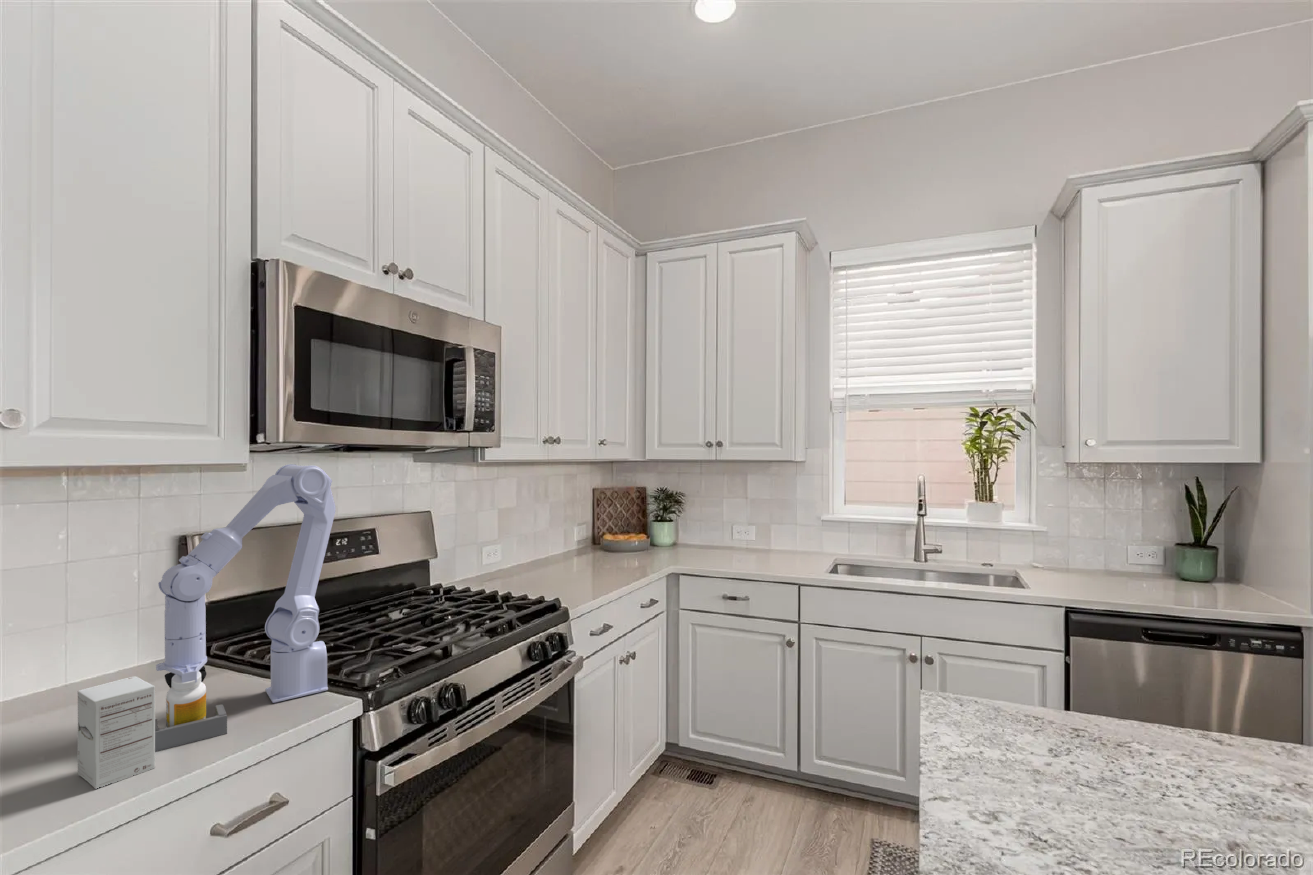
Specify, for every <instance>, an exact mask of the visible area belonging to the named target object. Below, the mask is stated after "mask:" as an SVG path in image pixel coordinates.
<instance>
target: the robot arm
mask: <svg viewBox="0 0 1313 875" xmlns="http://www.w3.org/2000/svg"><path fill="white" fill-rule="evenodd" d="M332 483H333V480H332V478H331V477H330V476H329V475H328V474H327V473H326V471H325V470H324V469H322V468H321V467H319V466H317V465H315V464H312V465H309V464H308V465H297V464H295V463H292V464H291V463H290V464H285V465H283V466H281V467H279V468H278V469H277V471H276V472H275V473H274V474H272V475H271V476H269V477H268V478H267V479H266V481H265V482H264V483H263V485H262V487H260V489H258V491H257V492H256V493H255V495H253V496H252V497H251V498H250V500H249V501H247V503H246V504H245V505H244V506H243V507H242V509H240V511H238V513H237V514H236V515H235V516H234V518H232V519H231V520H230V522H229V523H228V524H227V525H226V526H225V527H220V528H218V527H217V528H213V529H212V530H211V531H210V532H207V531H205V532H204V533H203V534H202V535H201V536H200V539H201V541H200V542H199V543H198V544H197V545H196V546H195V547H194V548H193V549H192V550H191V551H190V552H189V553H188V554H187V555H185V556H184V555H182V556H181V557H180V558H179V559H178V561H179V562H180V563H178V564H176V565H173V566H171V567H169V568H168V569H167V570H166V571H164V573H163V574H162V577H161V580H160V581H158V588H159V590H160V592H161V593H162V594H163V595H164V601H165V602H164V607H165V609H164V662H160V663H157V664H155V671H156V672H159V671H166V672H167V673H165V674H164V679H165V682H166V684H167V686H168V687H169V689H170V688H171V687H172V686H171V682H172V677H173V676H174V675H175V674H177V675H180V676H181V677H182V683H183V682H188V681H193V680H195V682H197V672H198V671H199V672H201V682H203V683H204V680H205V679H206V676H207V671H206V667H205V665H206V664H207V662H208V656H207V646H206V644H207V641H206V637H207V634H206V632H207V631H206V629H207V628H206V626H207V625H206V624H207V621H206V618H207V615H206V613H207V612H206V610H207V608H206V594H207V593H209V592H210V591H211V588H212V586H213V579H214V578H215V577H217V575H218V574H219V573H220V572H221V570H223V569H224V568H225V566H227V564H228V563H229V562H231V560H232V559H234V557H235V556H236V555H237V554H238V553H239V552H240V551H241V550H242V549H243V538H244V537H245V536H246V535H247V534H248V533H249V532H251V531H252V529H253V528H255V527H256V526H257V525H258V524H259V523H260V522H261V521H262V520H263V519H264V518H266V516H267V515H269V514H270V513H271V512H272V511H273V510H274V509H275V508H276V507H277V506H281V505H285V504H289V503H293V502H294V504H295V505H296V506H297V507H298V508H299V510H300V511H301V512H302V513H303V517H302V521H301V526H300V531H299V533H298V538H297V542H296V545H295V550H294V554H293V557H292V560H291V565H290V569H289V573H288V577H287V581H286V586H285V588H284V593H283V594H282V595H281V597H279V599H278V600H277V601H276V602H275V604H274V608H273V610H272V612H270V614H269V616H268V617H267V619H266V622H265V624H264V631H265V634H266V636H267V637H268V638H269V639H270V640H271V645H270V687H265V690H264V691H265V693H266V694H267V696H268V698H269V699H270V701H271V703H272V704H273V703H279V702H284V701H288V700H291V699H296V698H300V697H301V698H302V697H304V696H309V695H313V694H317V693H318V694H319V693H321V692H326V691H328V690H329V687H328V653H327V647H326V644H325V642H324V641H323V640H319V641H318V640H317V638H318V635H319V633H320V622H319V613H320V607H319V605H318V603H317V601H316V598H315V597H316V593H317V589H318V584H319V580H320V577H321V572H322V568H323V564H324V560H325V556H326V552H327V548H328V544H329V540H330V536H331V535H330V534H331V531H332V528H333V523H334V519H335V514H336V507H337V506H336V504H335V499H334V495H333V491H332V488H331V486H332ZM316 640H317V641H316Z"/></svg>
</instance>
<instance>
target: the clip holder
mask: <svg viewBox="0 0 1313 875" xmlns="http://www.w3.org/2000/svg"><path fill="white" fill-rule="evenodd" d="M158 722H159V721H158V719H157V718H155V752H159V751H163V750H167V749H171V748H176V747H180V746H182V745H186V744H191V743H195V742H198V741H202V740H203V741H204V740H207V739H211V738H214V737H219V736H222V735H226V734H228V715H227V711H226V709H225V707H224V705H223V703H222V704H217V705H215V715H214V716H211V717H206V718H205V719H201V720H197V721H193V722H188V723H184V724H180V725H176V726H171V727H167V728H166V727H163V728H160V727H159V723H158Z"/></svg>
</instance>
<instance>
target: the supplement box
mask: <svg viewBox="0 0 1313 875" xmlns="http://www.w3.org/2000/svg"><path fill="white" fill-rule="evenodd" d="M155 719H156V686H155V685H154V684H152V683H150V682H148V681H146V680H144V679H142V678H140V677H139V676H137V675H135V676H130V677H125V678H121V679H116V680H114V681H110V682H106V683H102V684H99V685H94V686H90V687H87V688H83V689H79V690H77V775H78V776H79V777H81V778H82V779H84V780H85V781H87V783H89V785H90V786H92V787H93V788H94V789H96V790H97V788H98V789H100V788H99V787H101V788H103V786H104V787H106V786H105V785H107V786H109V785H108V784H110V783H112V784H115V783H117V781H118V782H120V780H121V781H124V780H125V779H129V778H131V777H134V776H133V775H135V776H137V775H136V774H138V775H140V774H143V773H146V772H148V770H149V771H150V769H151V770H153V769H155V768H156V751H155ZM145 771H146V772H145ZM142 772H143V773H142ZM110 785H111V784H110Z"/></svg>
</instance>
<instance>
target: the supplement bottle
mask: <svg viewBox="0 0 1313 875" xmlns="http://www.w3.org/2000/svg"><path fill="white" fill-rule="evenodd" d="M171 686H172V687H171V688H170V687H169V689H168V690H167V692H166V695H165V697H166V698H165V700H166V701H165V703H166V704H165V705H166V706H165V709H166V710H165V711H166V712H165V713H166V716H165V717H166V726H165V728H167V727H171V726H176V725H180V724H184V723H188V722H193V721H197V720H201V719H205V718H207V687H206V684H205V683H204V681H203V682H201V672H199V671H198V672H197V682H195V680H193V681H188V682H183V683H182V677H181V676H180V675H177V674H175V675H174V676H173V677H172V682H171Z"/></svg>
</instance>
